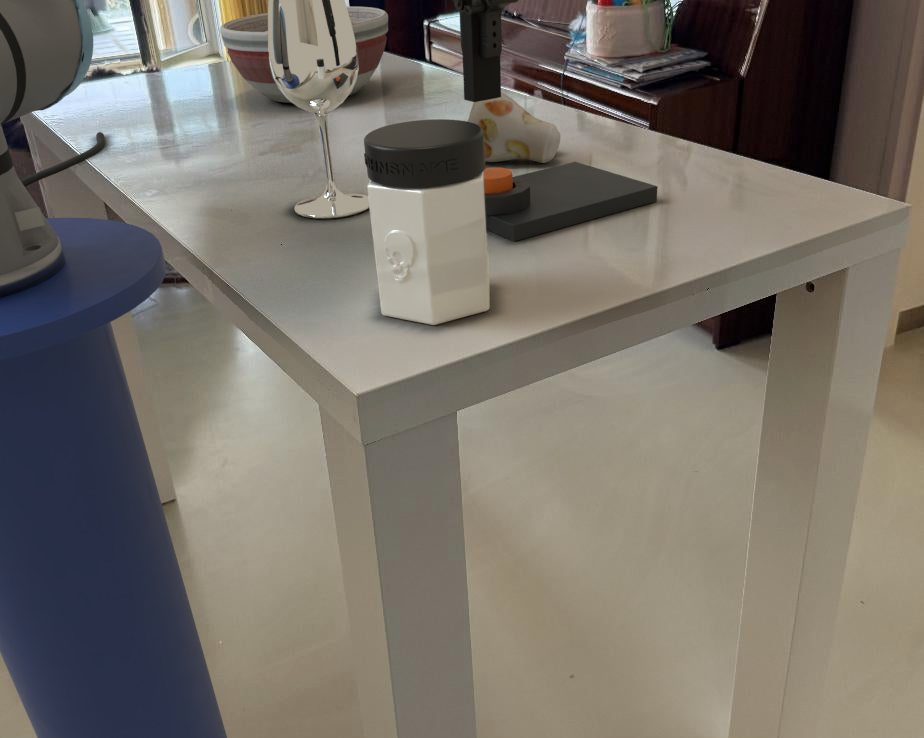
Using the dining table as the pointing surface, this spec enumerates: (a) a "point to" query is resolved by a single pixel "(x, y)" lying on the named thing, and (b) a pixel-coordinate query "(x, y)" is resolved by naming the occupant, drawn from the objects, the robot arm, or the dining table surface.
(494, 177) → the button
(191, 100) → the dining table surface
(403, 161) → the jar
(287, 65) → the wineglass
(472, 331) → the dining table surface
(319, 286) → the dining table surface
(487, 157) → the fruit sandwich
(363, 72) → the bowl
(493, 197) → the scale
